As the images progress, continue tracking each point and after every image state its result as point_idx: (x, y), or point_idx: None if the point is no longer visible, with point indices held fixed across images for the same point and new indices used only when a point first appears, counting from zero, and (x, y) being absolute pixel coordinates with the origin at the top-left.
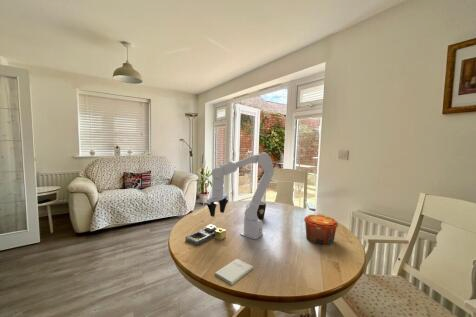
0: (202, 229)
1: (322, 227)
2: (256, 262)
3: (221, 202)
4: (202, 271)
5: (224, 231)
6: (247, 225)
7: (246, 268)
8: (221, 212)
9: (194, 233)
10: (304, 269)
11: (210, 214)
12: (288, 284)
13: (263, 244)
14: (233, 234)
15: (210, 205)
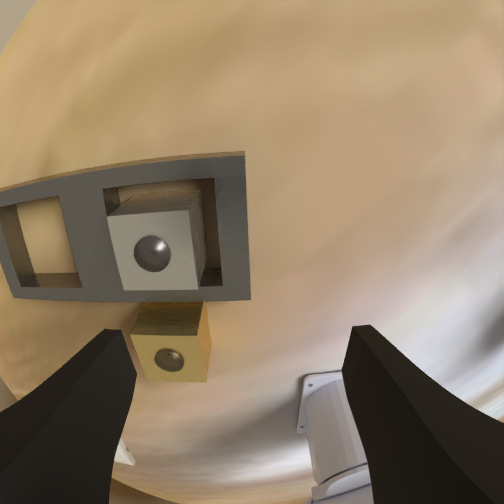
0: (111, 173)
1: None
2: (163, 462)
3: (415, 502)
4: (16, 387)
5: (189, 377)
6: (314, 456)
7: (114, 460)
8: (347, 350)
9: (31, 194)
10: (230, 498)
11: (91, 343)
12: (161, 491)
13: (279, 450)
14: (284, 348)
15: (24, 480)
